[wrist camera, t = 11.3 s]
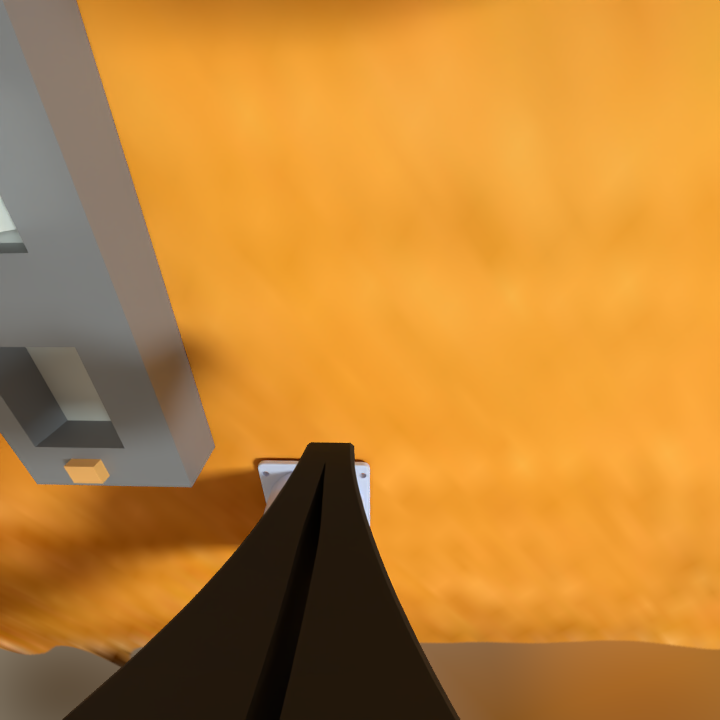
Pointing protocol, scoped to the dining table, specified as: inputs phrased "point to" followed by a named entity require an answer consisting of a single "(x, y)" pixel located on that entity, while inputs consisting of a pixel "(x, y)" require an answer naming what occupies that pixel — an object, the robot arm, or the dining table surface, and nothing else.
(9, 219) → the plug
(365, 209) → the dining table surface
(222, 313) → the dining table surface
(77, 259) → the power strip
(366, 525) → the robot arm
